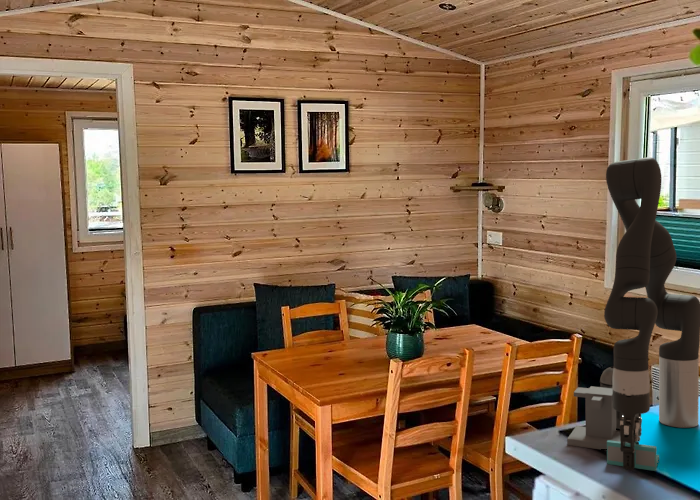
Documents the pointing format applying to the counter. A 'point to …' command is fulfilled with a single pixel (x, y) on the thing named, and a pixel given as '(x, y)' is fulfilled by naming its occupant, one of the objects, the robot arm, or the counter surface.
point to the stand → (596, 419)
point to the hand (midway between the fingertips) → (631, 463)
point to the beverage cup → (607, 382)
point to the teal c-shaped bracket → (643, 455)
